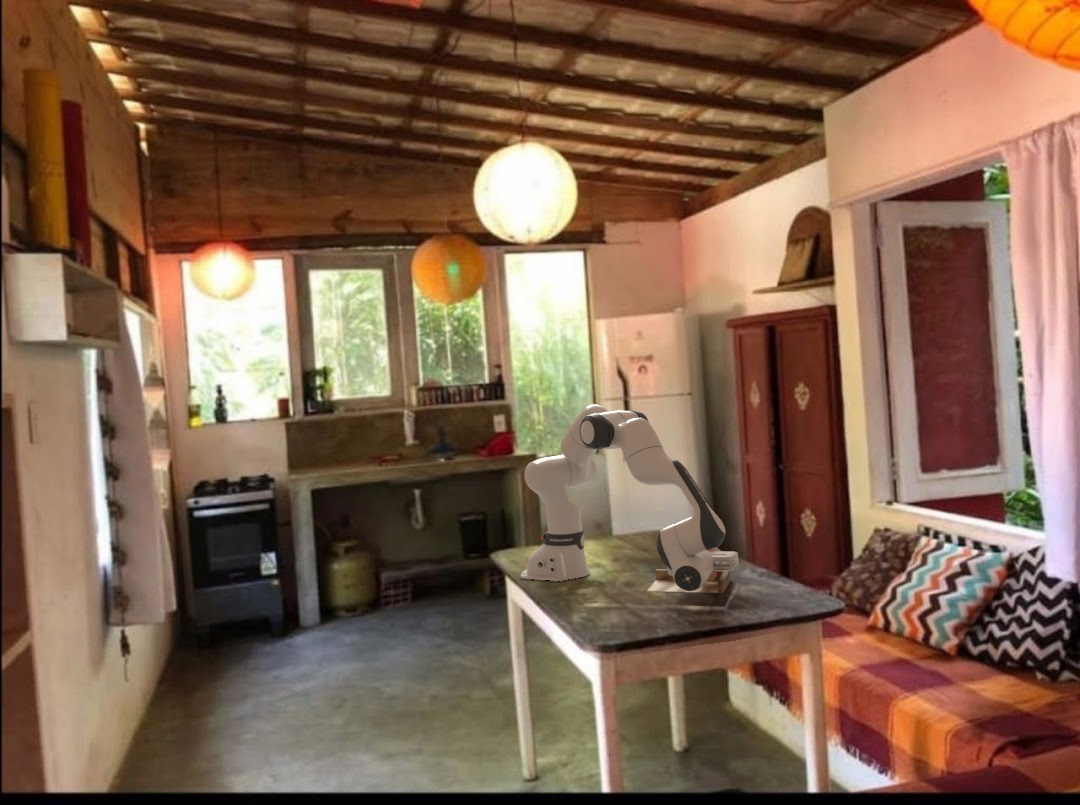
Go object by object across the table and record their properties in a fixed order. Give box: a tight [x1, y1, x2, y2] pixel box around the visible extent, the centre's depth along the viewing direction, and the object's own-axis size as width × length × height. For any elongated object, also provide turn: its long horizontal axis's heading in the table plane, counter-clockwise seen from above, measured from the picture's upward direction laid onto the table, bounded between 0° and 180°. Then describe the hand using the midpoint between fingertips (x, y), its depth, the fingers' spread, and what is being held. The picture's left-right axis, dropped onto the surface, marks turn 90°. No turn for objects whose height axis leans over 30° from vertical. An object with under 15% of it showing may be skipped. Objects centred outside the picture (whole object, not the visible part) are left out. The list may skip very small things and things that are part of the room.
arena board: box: [646, 568, 731, 594], centre depth 248 cm, size 22×14×4 cm, turn 70°
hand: (705, 553), depth 248 cm, fingers closed on terracotta block, 5 cm apart
